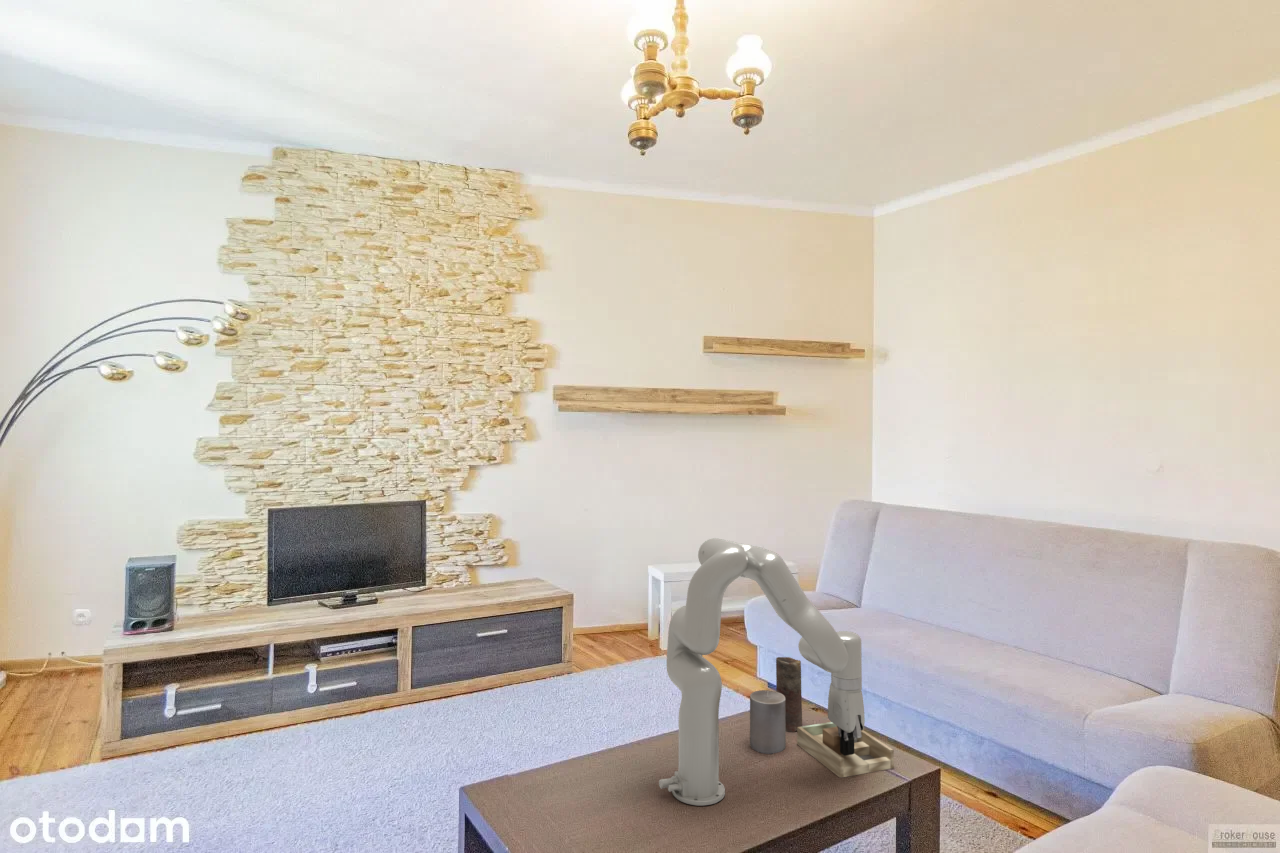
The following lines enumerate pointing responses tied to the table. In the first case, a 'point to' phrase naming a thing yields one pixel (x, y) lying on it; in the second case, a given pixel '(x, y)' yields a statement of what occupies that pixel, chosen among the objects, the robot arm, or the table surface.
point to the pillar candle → (767, 721)
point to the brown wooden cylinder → (790, 690)
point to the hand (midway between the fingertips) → (847, 753)
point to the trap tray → (864, 760)
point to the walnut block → (832, 739)
